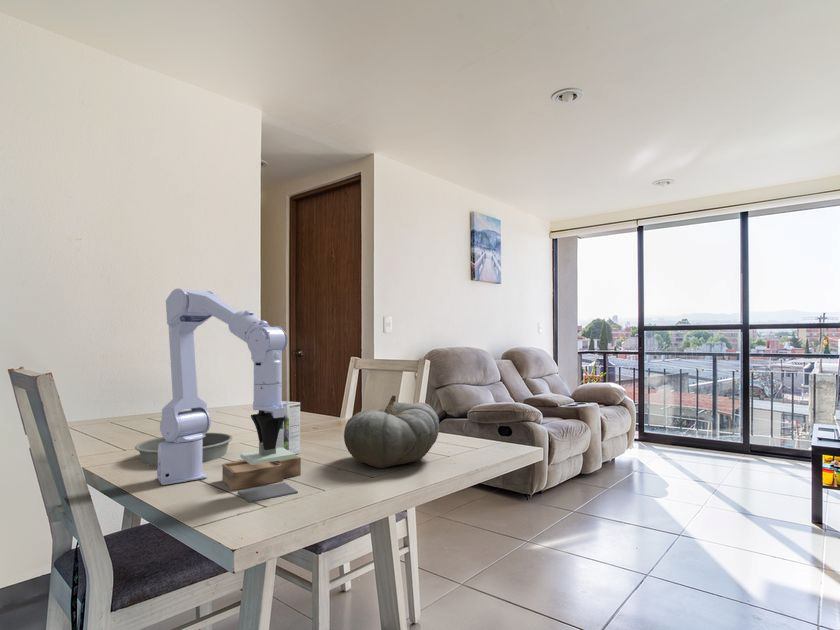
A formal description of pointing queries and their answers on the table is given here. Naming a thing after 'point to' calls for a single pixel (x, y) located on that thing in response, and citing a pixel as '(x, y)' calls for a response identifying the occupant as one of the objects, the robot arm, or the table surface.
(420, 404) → the gourd
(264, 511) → the table surface
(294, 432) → the syrup box
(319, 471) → the table surface
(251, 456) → the cover
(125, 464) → the table surface
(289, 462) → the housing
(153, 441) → the cake pan
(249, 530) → the table surface
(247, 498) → the mat
